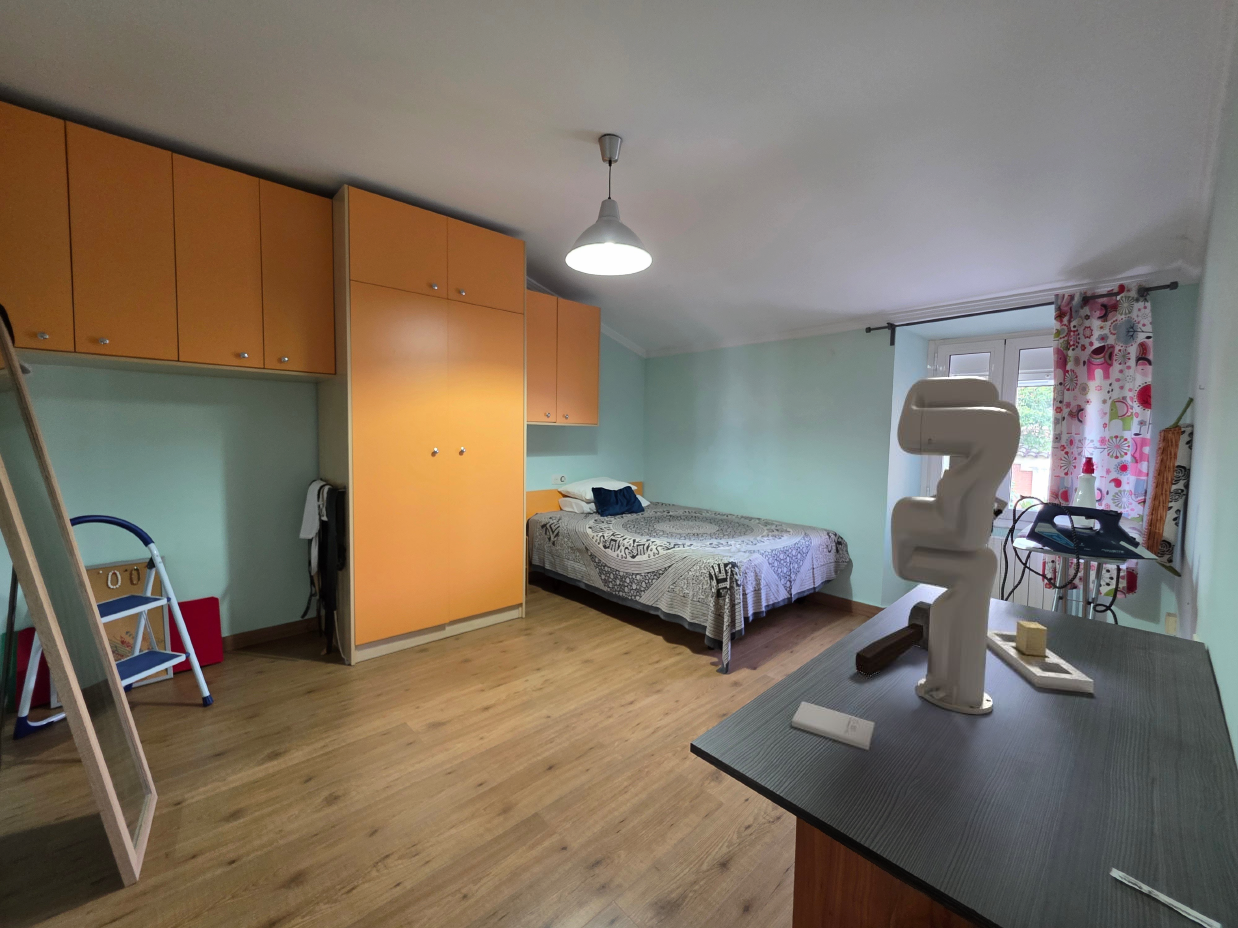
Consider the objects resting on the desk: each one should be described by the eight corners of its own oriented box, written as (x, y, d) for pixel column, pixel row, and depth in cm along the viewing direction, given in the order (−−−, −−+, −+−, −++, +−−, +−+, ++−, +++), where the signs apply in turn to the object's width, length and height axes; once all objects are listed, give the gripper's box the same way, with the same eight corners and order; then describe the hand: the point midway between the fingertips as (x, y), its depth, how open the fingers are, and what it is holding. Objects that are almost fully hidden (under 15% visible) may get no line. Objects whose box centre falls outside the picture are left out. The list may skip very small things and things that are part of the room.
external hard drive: (802, 708, 97) (874, 729, 90) (791, 728, 90) (868, 753, 83) (802, 700, 97) (874, 720, 90) (791, 719, 90) (868, 743, 83)
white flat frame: (1093, 692, 103) (1094, 681, 103) (1036, 686, 105) (1037, 674, 105) (1023, 642, 128) (1023, 632, 128) (978, 638, 131) (979, 628, 130)
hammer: (873, 695, 108) (940, 646, 124) (871, 645, 107) (940, 603, 123) (852, 685, 112) (920, 639, 128) (850, 637, 111) (919, 597, 127)
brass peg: (1044, 667, 114) (1047, 628, 114) (1024, 665, 115) (1026, 627, 115) (1034, 659, 118) (1036, 622, 118) (1014, 657, 119) (1017, 620, 119)
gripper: (1000, 464, 123) (996, 533, 124) (922, 462, 127) (918, 529, 128) (1017, 466, 116) (1012, 539, 117) (933, 464, 120) (929, 535, 121)
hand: (963, 534), depth 123 cm, fingers open, 9 cm apart
